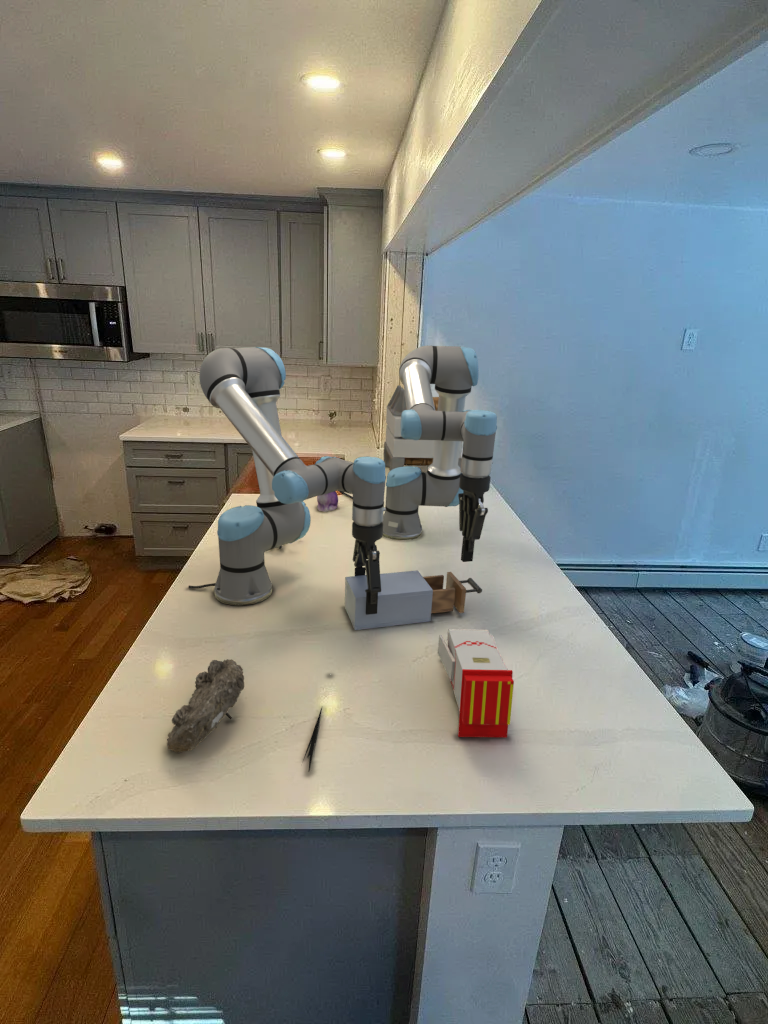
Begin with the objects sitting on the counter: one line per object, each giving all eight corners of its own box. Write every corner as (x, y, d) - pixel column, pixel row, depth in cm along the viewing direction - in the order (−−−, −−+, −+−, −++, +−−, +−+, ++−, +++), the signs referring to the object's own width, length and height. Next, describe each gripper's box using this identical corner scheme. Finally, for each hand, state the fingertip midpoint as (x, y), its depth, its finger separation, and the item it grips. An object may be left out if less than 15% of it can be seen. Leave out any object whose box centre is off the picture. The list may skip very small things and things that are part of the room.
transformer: (382, 463, 289) (386, 382, 275) (445, 464, 293) (451, 384, 279) (390, 482, 257) (394, 392, 243) (460, 483, 261) (468, 394, 247)
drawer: (467, 592, 158) (469, 569, 156) (483, 610, 149) (486, 586, 147) (384, 601, 152) (385, 577, 149) (395, 620, 142) (397, 596, 140)
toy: (488, 613, 130) (523, 677, 101) (484, 667, 133) (517, 744, 104) (435, 612, 130) (455, 676, 101) (432, 666, 133) (451, 743, 103)
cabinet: (415, 599, 155) (417, 570, 152) (430, 621, 145) (433, 590, 142) (344, 607, 150) (345, 576, 146) (354, 630, 139) (355, 597, 136)
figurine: (320, 513, 215) (320, 475, 210) (311, 505, 224) (311, 468, 219) (343, 510, 219) (344, 473, 214) (333, 502, 228) (333, 466, 223)
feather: (331, 679, 122) (336, 673, 122) (307, 777, 96) (313, 769, 95) (324, 675, 122) (329, 669, 121) (298, 772, 95) (304, 764, 95)
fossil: (192, 660, 117) (244, 628, 112) (224, 691, 120) (276, 661, 115) (142, 746, 98) (202, 712, 93) (182, 779, 101) (242, 748, 96)
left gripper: (397, 539, 127) (393, 624, 134) (370, 504, 148) (367, 579, 156) (364, 541, 125) (362, 627, 132) (342, 506, 146) (340, 581, 154)
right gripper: (501, 481, 135) (490, 570, 144) (478, 466, 147) (469, 549, 155) (472, 482, 133) (463, 572, 142) (451, 467, 145) (444, 551, 153)
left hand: (365, 601), depth 144 cm, fingers closed on cabinet, 11 cm apart
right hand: (466, 560), depth 148 cm, fingers closed
